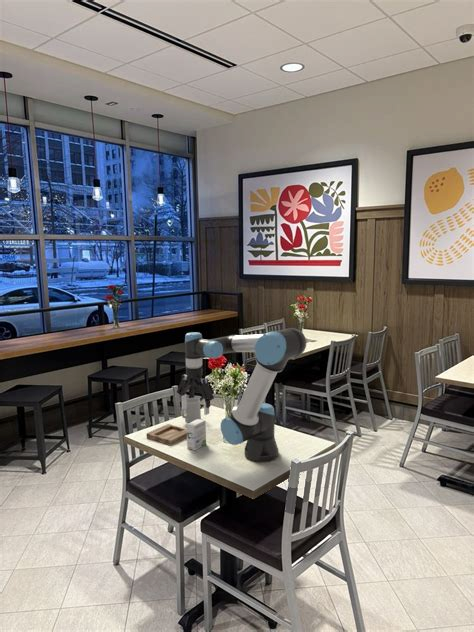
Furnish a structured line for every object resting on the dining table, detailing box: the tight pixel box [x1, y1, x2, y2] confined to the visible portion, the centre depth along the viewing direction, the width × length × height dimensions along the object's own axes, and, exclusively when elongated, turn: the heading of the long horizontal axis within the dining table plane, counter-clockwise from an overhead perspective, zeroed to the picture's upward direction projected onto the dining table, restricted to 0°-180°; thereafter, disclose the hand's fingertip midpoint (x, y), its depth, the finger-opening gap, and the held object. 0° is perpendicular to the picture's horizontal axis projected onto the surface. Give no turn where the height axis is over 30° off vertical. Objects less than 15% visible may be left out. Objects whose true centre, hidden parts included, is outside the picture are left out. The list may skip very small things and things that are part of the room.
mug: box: [180, 397, 202, 423], centre depth 244 cm, size 12×8×11 cm
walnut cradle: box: [146, 423, 187, 446], centre depth 224 cm, size 16×15×2 cm
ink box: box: [185, 418, 207, 451], centre depth 211 cm, size 8×5×12 cm, turn 145°
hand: (195, 411), depth 210 cm, fingers open, 13 cm apart
